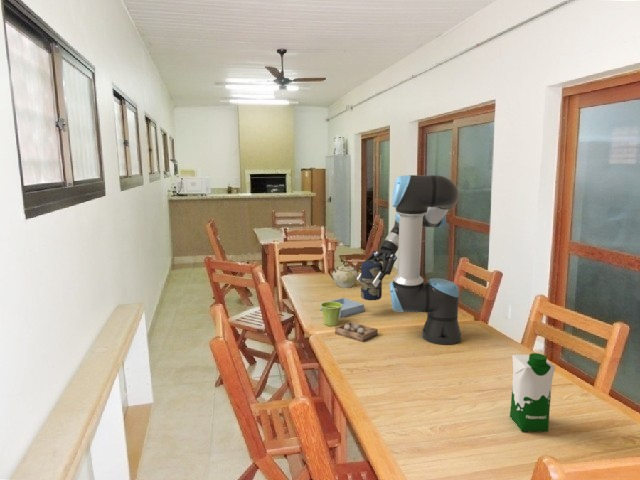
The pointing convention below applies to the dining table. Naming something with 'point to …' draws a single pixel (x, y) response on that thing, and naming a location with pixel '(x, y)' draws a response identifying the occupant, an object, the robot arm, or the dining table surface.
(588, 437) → the dining table surface
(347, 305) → the slate dish
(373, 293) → the canister
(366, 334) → the pebble tray
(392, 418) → the dining table surface
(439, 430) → the dining table surface
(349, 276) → the sugar bowl
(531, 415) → the milk carton
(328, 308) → the plant pot
